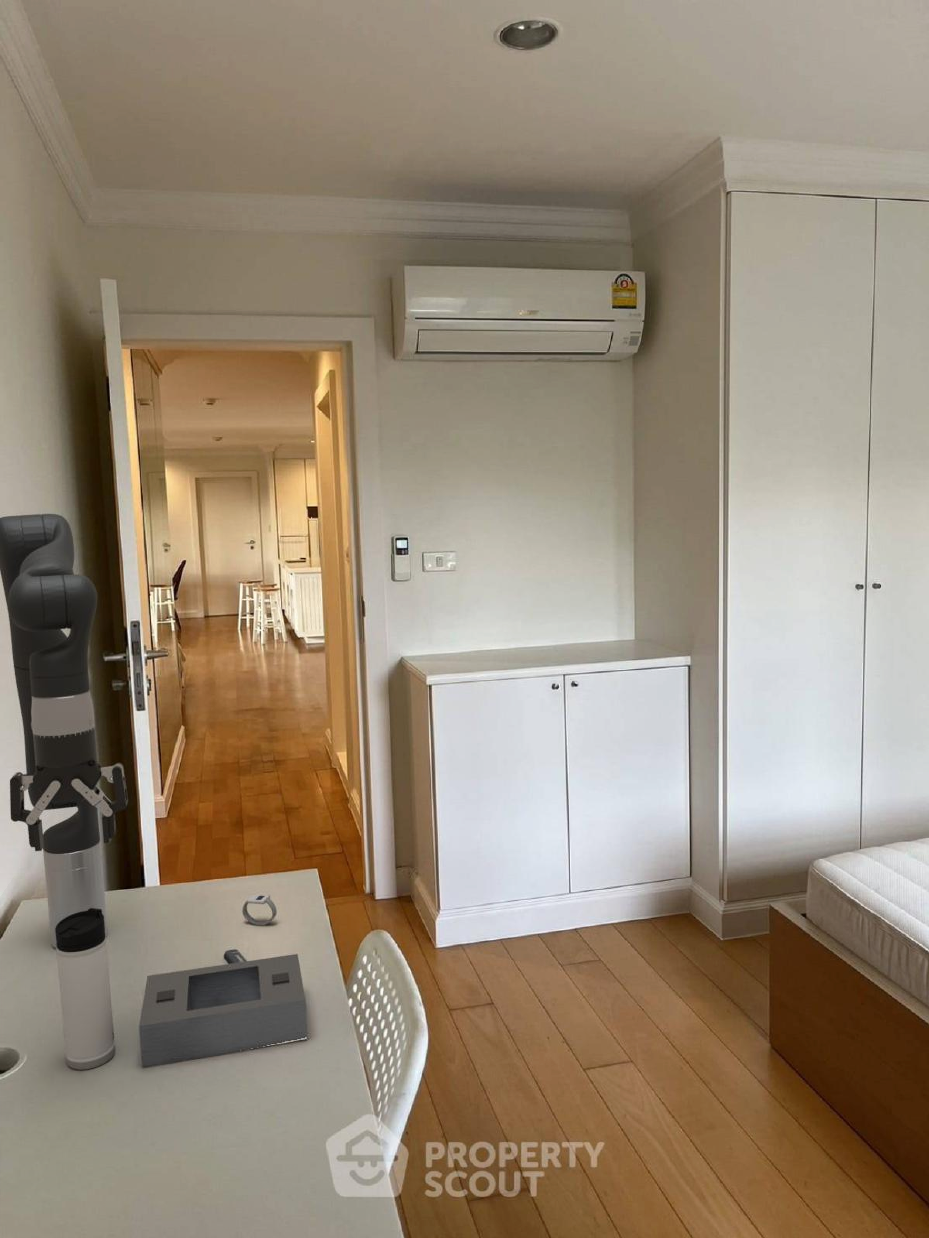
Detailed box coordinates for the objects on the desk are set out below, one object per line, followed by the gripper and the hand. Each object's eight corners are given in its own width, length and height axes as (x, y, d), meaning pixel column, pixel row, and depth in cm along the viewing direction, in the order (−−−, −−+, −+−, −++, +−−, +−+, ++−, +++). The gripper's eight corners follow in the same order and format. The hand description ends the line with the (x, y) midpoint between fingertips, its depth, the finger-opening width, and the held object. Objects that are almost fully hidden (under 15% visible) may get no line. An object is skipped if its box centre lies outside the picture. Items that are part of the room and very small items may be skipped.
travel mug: (126, 1046, 130) (115, 910, 127) (93, 1073, 123) (81, 931, 121) (90, 1039, 132) (79, 904, 129) (56, 1065, 125) (43, 925, 123)
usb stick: (257, 977, 148) (257, 968, 148) (241, 982, 147) (241, 973, 147) (238, 954, 156) (237, 946, 156) (222, 959, 155) (222, 950, 155)
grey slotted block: (150, 1013, 138) (147, 974, 137) (299, 990, 143) (297, 952, 142) (142, 1067, 124) (139, 1024, 124) (307, 1039, 130) (305, 998, 129)
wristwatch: (240, 926, 166) (239, 899, 166) (247, 919, 169) (246, 893, 168) (272, 928, 165) (271, 901, 164) (279, 921, 168) (277, 895, 167)
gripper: (124, 716, 127) (132, 830, 129) (11, 725, 124) (22, 842, 126) (118, 728, 120) (127, 848, 122) (-2, 738, 117) (9, 861, 118)
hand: (73, 845), depth 124 cm, fingers open, 8 cm apart
